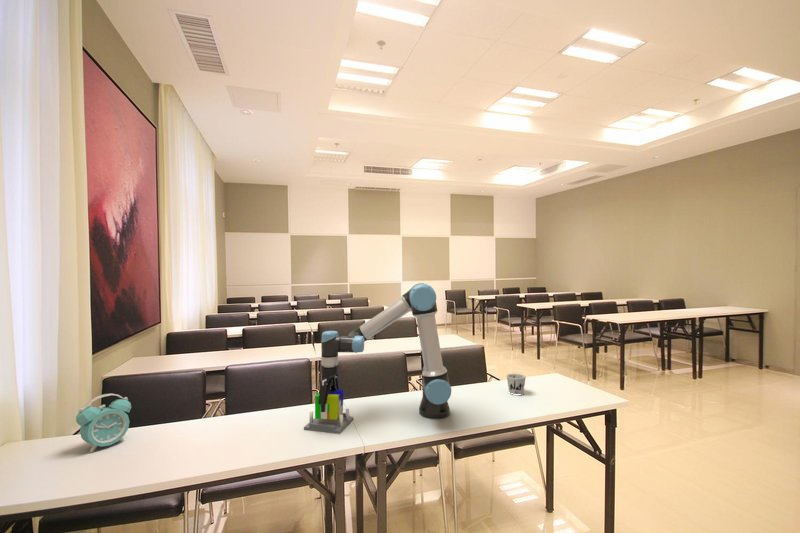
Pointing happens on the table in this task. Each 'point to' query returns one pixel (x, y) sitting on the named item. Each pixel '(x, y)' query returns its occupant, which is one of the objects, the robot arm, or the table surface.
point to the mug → (516, 383)
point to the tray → (329, 423)
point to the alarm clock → (104, 422)
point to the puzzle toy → (331, 404)
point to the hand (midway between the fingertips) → (329, 413)
